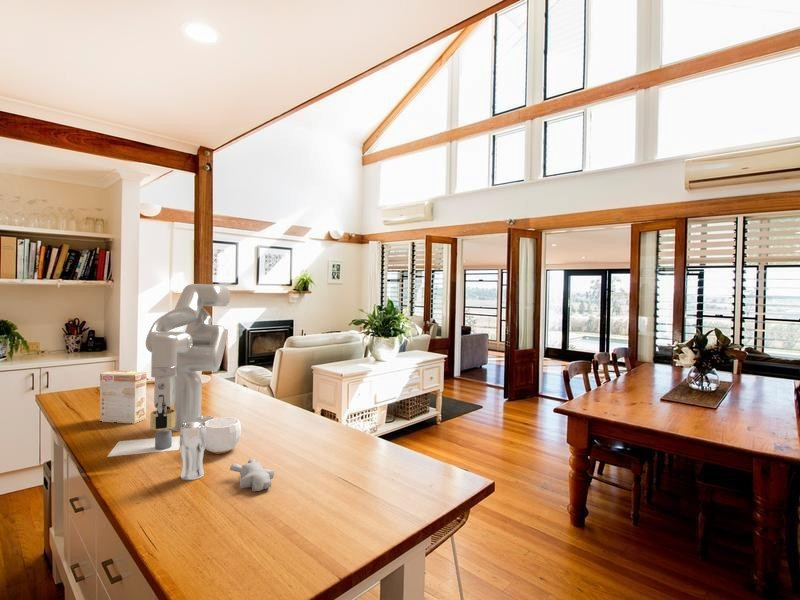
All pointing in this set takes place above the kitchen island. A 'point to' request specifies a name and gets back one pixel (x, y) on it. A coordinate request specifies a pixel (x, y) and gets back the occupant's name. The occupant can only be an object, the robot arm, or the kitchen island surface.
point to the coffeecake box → (122, 396)
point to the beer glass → (192, 449)
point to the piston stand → (147, 444)
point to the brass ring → (170, 419)
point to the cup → (222, 434)
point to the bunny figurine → (253, 475)
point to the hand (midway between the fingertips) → (163, 424)
